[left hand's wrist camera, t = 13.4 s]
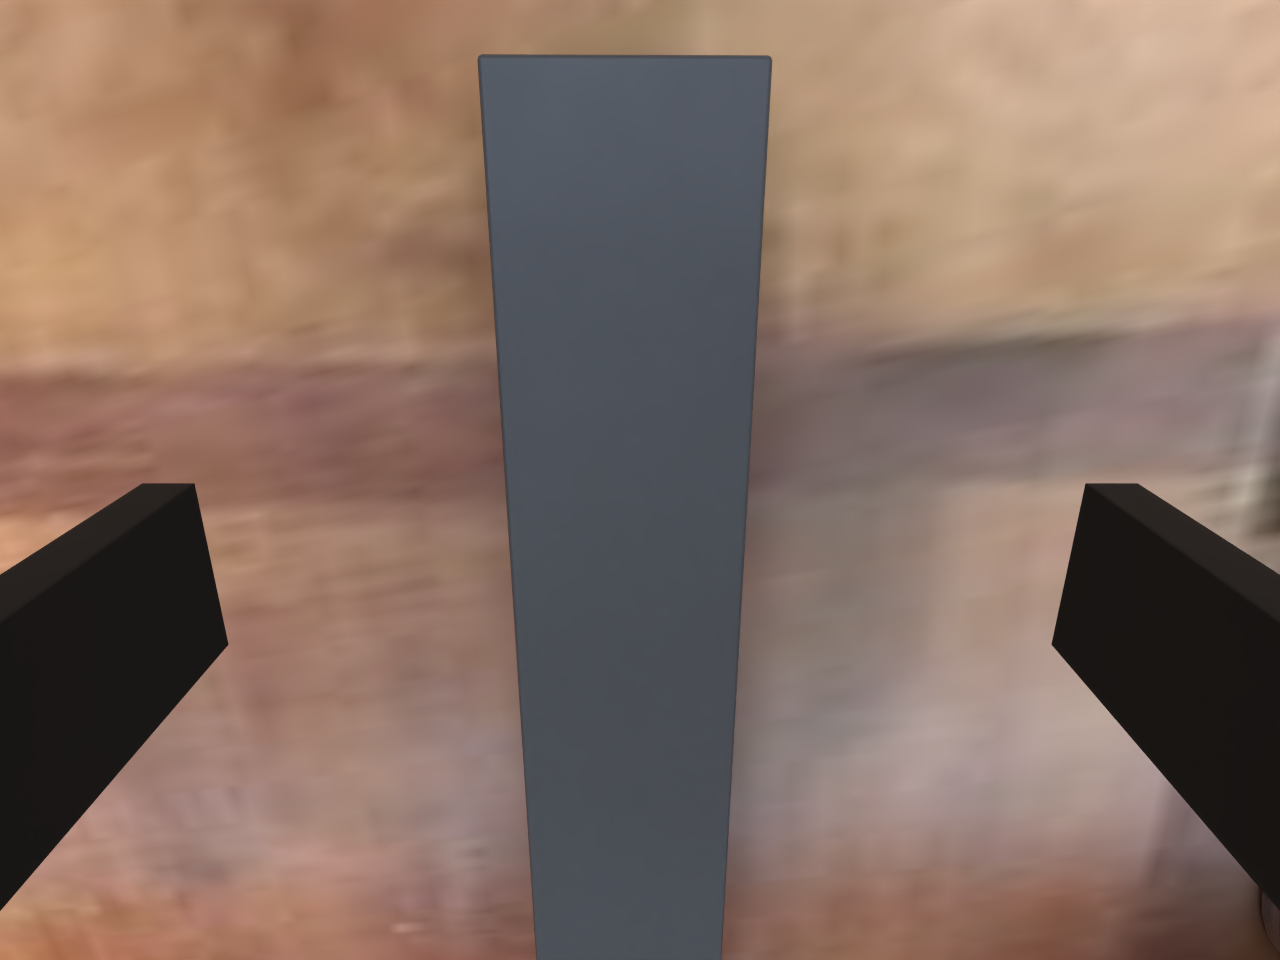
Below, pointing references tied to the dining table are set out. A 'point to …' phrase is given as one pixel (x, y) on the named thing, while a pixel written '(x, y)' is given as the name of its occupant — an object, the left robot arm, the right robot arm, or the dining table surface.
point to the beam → (626, 472)
